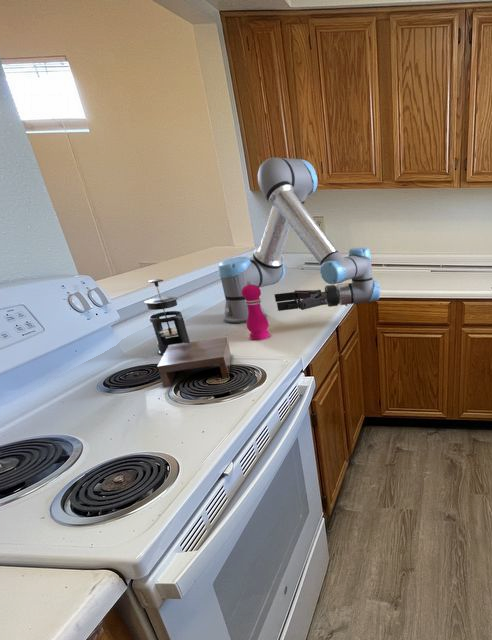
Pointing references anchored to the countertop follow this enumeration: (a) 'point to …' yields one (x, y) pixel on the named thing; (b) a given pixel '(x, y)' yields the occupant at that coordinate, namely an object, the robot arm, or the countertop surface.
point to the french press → (156, 321)
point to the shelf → (194, 358)
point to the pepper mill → (255, 312)
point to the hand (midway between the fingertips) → (276, 302)
